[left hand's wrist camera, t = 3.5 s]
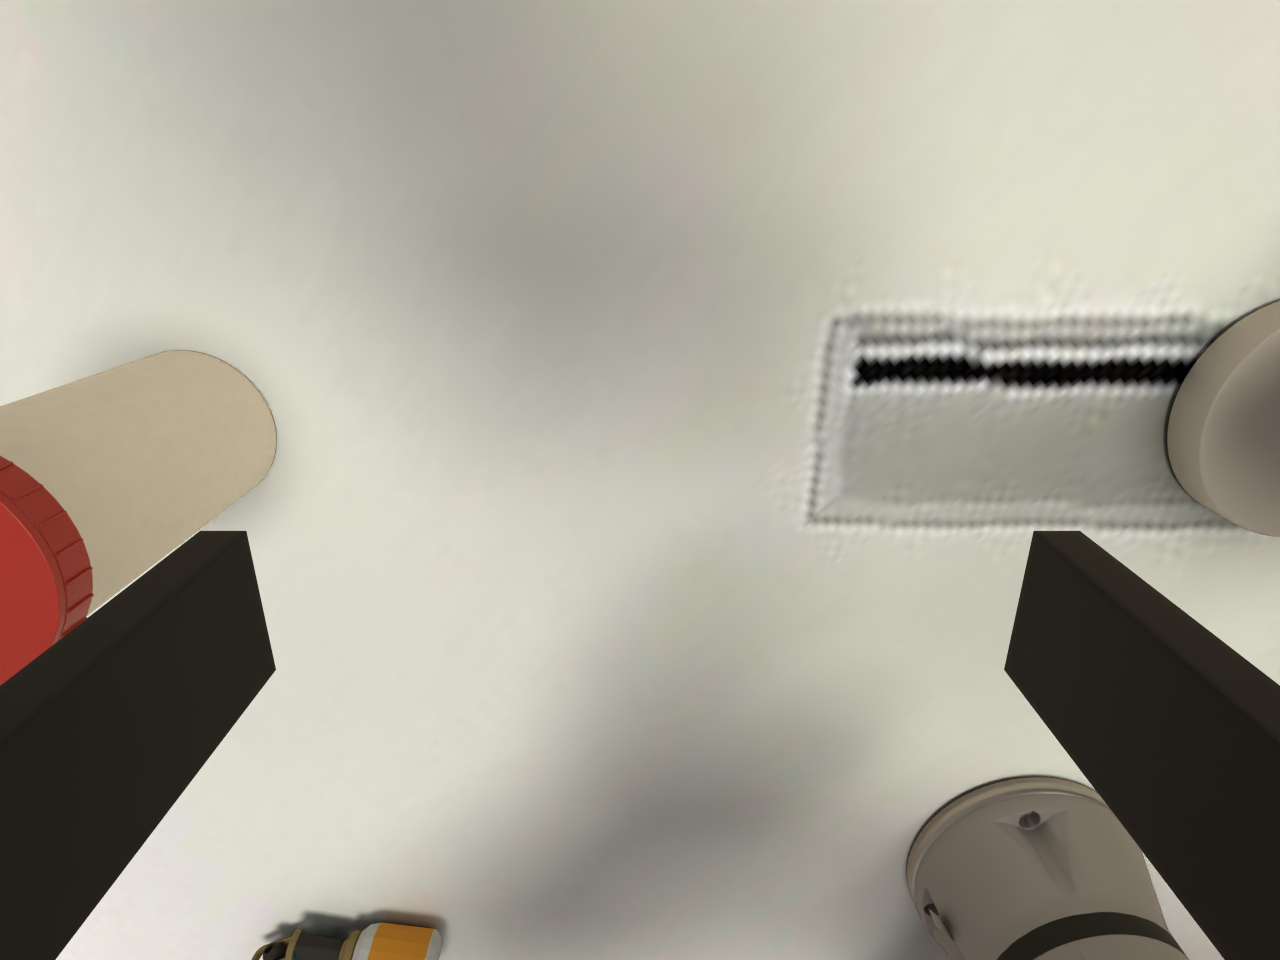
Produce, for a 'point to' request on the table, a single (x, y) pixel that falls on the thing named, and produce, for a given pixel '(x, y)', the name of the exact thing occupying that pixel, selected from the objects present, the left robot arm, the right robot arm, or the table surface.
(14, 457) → the jar
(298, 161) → the table surface
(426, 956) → the spray gun
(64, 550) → the lid
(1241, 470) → the bust sculpture
